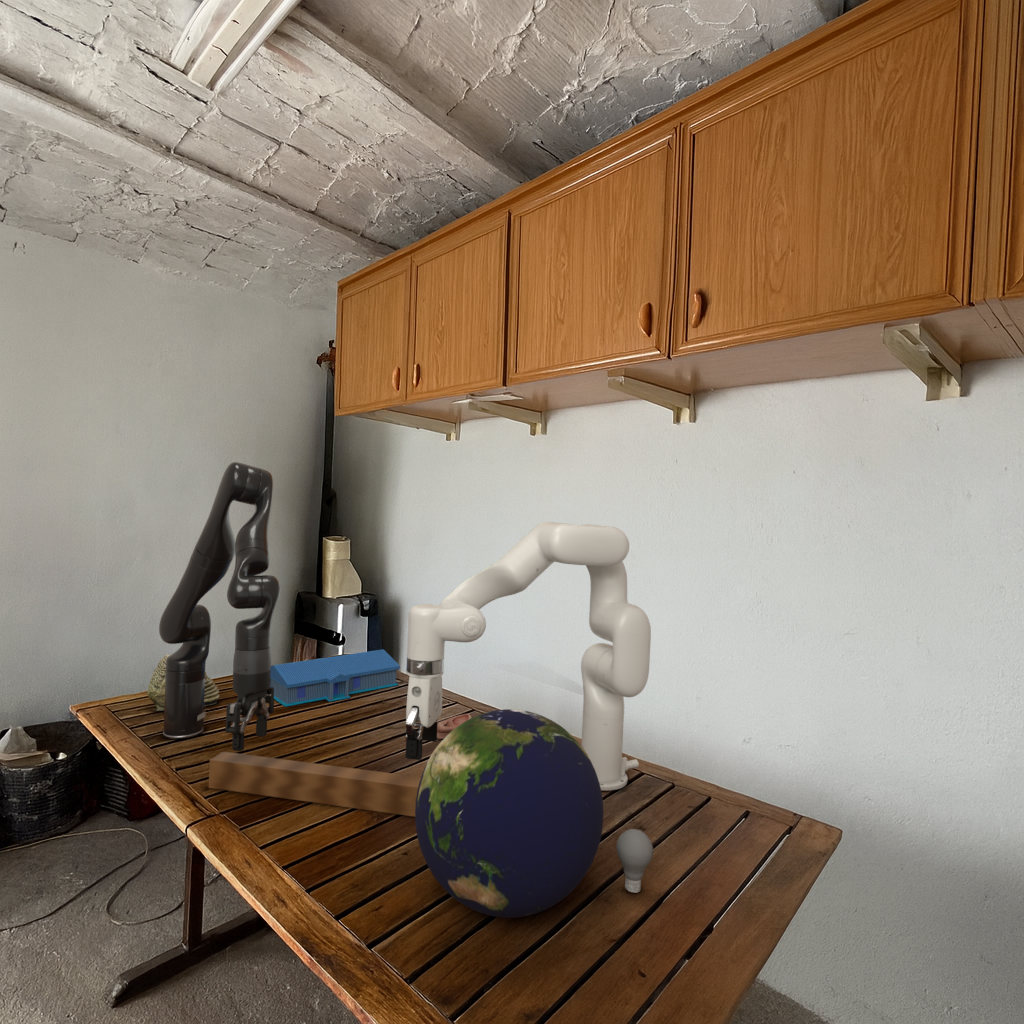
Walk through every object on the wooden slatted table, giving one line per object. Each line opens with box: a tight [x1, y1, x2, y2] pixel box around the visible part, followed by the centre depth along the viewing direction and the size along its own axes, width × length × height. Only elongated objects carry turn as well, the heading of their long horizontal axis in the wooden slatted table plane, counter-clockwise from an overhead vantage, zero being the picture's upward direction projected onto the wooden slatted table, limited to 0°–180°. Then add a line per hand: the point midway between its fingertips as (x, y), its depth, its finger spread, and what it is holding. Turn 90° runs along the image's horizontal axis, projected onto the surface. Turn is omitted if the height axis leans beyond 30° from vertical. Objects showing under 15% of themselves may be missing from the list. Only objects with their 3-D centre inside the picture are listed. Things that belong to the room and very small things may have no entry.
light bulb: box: [615, 828, 654, 894], centre depth 106 cm, size 6×6×10 cm
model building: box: [270, 649, 401, 707], centre depth 208 cm, size 39×24×10 cm, turn 132°
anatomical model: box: [437, 713, 472, 740], centre depth 174 cm, size 13×4×12 cm
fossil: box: [147, 654, 221, 712], centre depth 185 cm, size 9×18×15 cm, turn 132°
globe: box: [414, 708, 604, 919], centre depth 101 cm, size 30×30×30 cm
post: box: [208, 751, 421, 818], centre depth 133 cm, size 54×5×6 cm, turn 80°
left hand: (250, 742), depth 136 cm, fingers open, 8 cm apart
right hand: (421, 749), depth 129 cm, fingers open, 9 cm apart
